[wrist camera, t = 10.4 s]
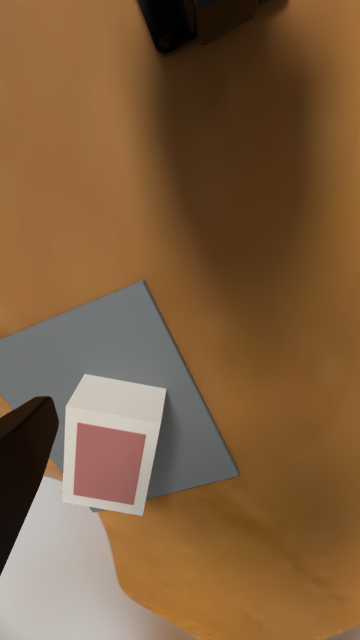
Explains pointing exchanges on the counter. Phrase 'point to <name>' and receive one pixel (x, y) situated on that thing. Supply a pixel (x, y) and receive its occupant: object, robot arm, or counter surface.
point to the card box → (111, 443)
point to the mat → (126, 365)
